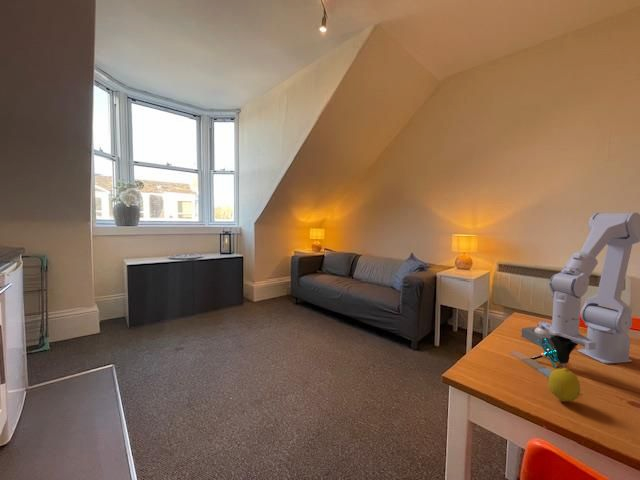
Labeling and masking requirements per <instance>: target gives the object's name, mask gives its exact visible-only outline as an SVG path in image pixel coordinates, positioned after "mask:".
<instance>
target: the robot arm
mask: <svg viewBox="0 0 640 480" xmlns="http://www.w3.org/2000/svg"><path fill="white" fill-rule="evenodd" d="M588 230H589V233H588V235H587V237H586V240H585V241H584V244H583V246H582V247H581V249H580V251H577V252H574V253H573V254H572V255H571V256H570V257H569V259H568V260H567V262H566V264H565V265H564V266H563V268H562V269H561V271H560V272H558V273H555V274H553V275H552V276H551V278H550V281H549V282H548V284H549V285H548V286H549V288H550V291H551V298H553V302H552V303H553V305H552V318H551V319H552V320H551V323H549V322H546V321H538V324H539V327H538V328H540V329H545V330H547V331H549V332H550V333H551V334H553V335H554V336H552V337H551V341H552V342H553V344H554V346H555V347H554V349H555V350H556V351H557V357H558V359H559V361H558V362H557V363H559V364H560V363H561V364H563V365H564V364H569V361H570V355H571V353H572V351H573V350H574V349H575V348H576V347H577V346H578V345H579V346H581V347H583V348H582V349H581V348H580V349H577V352H579V353H581V354H583V355H586V356H588V357H590V358H591V359H594V360H596V361H598V362H601V363H602V364H606V365H607V364H620V363H621V364H622V363H632V362H633V360H632V359H630V347H631V338H630V335H629V334H628V333H627V332H628V331H630V329H631V327H632V323H633V316H632V314H633V313H632V312H633V309H632V307H630V306H629V305H628V304H627V303H626V302H625V301H623V300H622V299H621V297H622V293H623V289H624V286H625V285H624V283H625V280H626V275H627V270H628V265H629V261H630V257H631V253H632V248H633V245H634V244H638V243H640V213H639V212H637V211H636V212H634V211H633V212H616V213H615V212H604V213H603V212H595V213H593V214H592V215H591V216H590V219H589V221H588ZM606 246H607V247H606ZM605 247H606V251H605V252H606V253H605V257H604V262H603V266H602V270H601V276H600V281H599V284H598V290H597V293H596V295H593V296H590V297H587V298H585V302H584V304H583V305H582V297H584V296H585V295H586V293H587V291H588V288H589V283H590V277H591V274H592V273H593V272H594V270H595V268H596V267H597V266H598V265H599V261H598V259H597V256H598V255H599V254H600V253H601V252H602V250H603V249H604V248H605ZM581 306H582V307H581ZM609 307H610V308H609ZM580 318H581V320H582V321H583V322H584V325H585V326H587V332H586V336H584V335H583V334H582V333H580V330H579V329H580ZM561 364H560V365H561Z"/></svg>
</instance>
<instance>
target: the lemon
mask: <svg viewBox="0 0 640 480" xmlns="http://www.w3.org/2000/svg"><path fill="white" fill-rule="evenodd" d="M551 371H552V373H551V374H550V376H549V378H548V388H549V390H550V392H551V393H552V395H554V396H555V397H556V398H557V399H559V400H560V401H561V402H563V403H564V402H573V401H576V400H577V399H578V397H579V396H580V393H581V384H580V381H579V379H578V377H577V376H576V375H575V373H573V372H572V371H570V370H569V369H567V368H565V367H562V368H555V369H554V370H551Z"/></svg>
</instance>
